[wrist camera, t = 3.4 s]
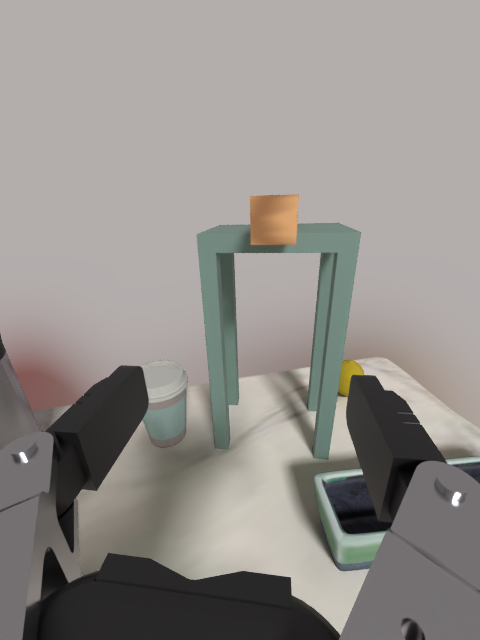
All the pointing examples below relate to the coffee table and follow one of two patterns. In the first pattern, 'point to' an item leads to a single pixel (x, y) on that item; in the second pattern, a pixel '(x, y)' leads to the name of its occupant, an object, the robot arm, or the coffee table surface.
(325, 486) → the planter
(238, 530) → the coffee table surface
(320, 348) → the tall green stool
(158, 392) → the coffee cup
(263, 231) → the block
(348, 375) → the lemon
